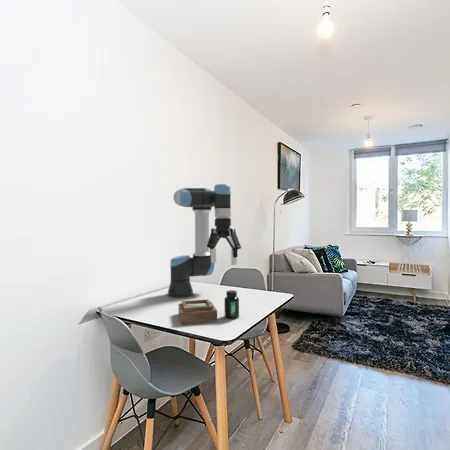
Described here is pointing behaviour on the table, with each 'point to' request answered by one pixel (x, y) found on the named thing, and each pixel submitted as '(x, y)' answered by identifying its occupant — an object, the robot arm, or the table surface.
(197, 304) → the stand
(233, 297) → the supplement bottle
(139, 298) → the table surface
